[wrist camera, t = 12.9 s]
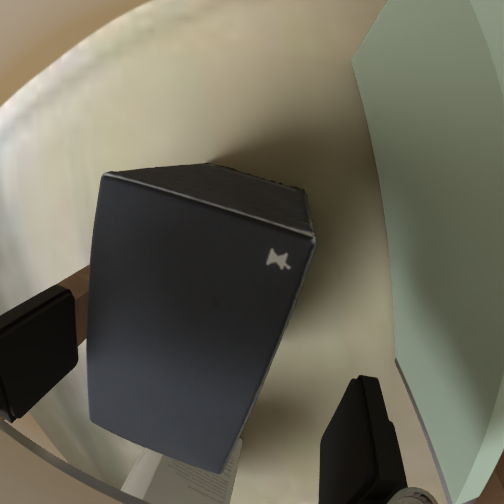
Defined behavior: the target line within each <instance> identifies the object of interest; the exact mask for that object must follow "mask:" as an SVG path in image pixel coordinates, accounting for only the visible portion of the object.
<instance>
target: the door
mask: <svg viewBox="0 0 504 504" xmlns="http://www.w3.org/2000/svg"><path fill="white" fill-rule="evenodd" d="M351 64H352V67H353V71H354V74H355V78H356V81H357V85H358V89H359V92H360V96H361V100H362V104H363V108H364V112H365V116H366V120H367V125H368V129H369V133H370V138H371V143H372V147H373V152H374V157H375V162H376V168H377V173H378V179H379V184H380V190H381V196H382V203H383V209H384V216H385V224H386V231H387V240H388V248H389V258H390V268H391V280H392V293H393V310H394V334H395V356H396V358H395V363H396V366H397V368H398V370H399V373H400V375H401V377H402V380H403V382H404V384H405V387H406V389H407V392H408V394H409V397H410V399H411V401H412V404H413V406H414V409H415V411H416V414H417V417H418V419H419V422H420V424H421V427H422V430H423V432H424V435H425V437H426V440H427V443H428V446H429V448H430V451H431V454H432V457H433V460H434V462H435V465H436V468H437V471H438V474H439V477H440V480H441V483H442V486H443V489H444V493H445V496H446V499H447V502H448V504H475V502H476V501H477V500H476V498H477V497H479V496H480V494H481V492H482V491H483V489H484V487H485V485H486V483H487V482H488V480H489V478H490V476H491V474H492V472H493V470H494V468H495V466H496V464H497V462H498V460H499V458H500V456H501V454H502V452H503V449H504V0H387V2H386V4H385V5H384V7H383V8H382V10H381V12H380V13H379V15H378V17H377V18H376V20H375V22H374V23H373V25H372V26H371V28H370V30H369V31H368V33H367V35H366V36H365V38H364V40H363V41H362V43H361V45H360V46H359V48H358V50H357V51H356V53H355V55H354V56H353V58H352V60H351Z"/></svg>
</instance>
